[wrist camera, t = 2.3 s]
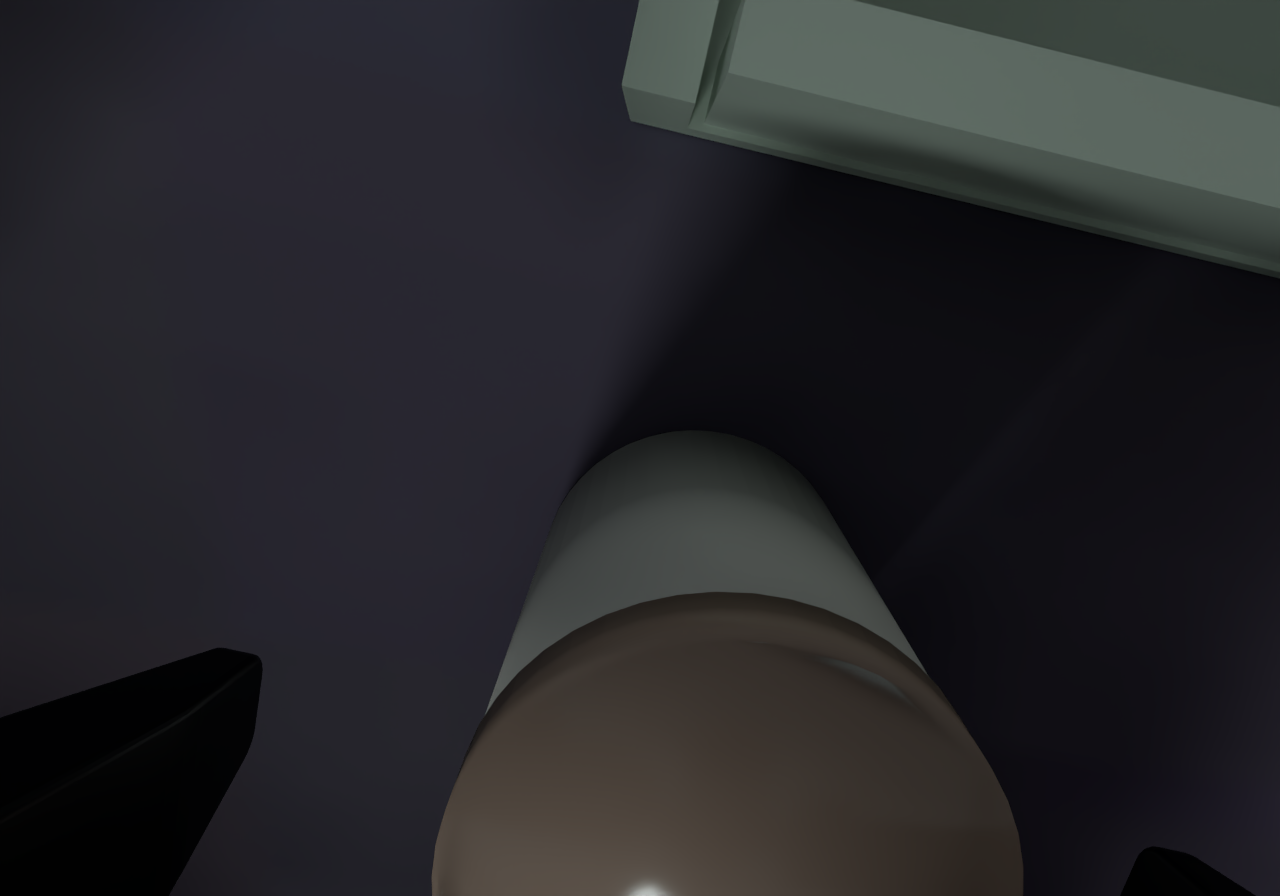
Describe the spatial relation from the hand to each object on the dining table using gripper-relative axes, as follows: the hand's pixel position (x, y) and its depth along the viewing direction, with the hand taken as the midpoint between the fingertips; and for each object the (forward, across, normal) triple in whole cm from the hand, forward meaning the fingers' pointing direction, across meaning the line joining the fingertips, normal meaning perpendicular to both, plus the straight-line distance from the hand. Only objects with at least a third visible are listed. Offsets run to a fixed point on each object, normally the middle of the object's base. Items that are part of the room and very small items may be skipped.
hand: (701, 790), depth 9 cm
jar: (+6, 0, 0) cm, 6 cm away
